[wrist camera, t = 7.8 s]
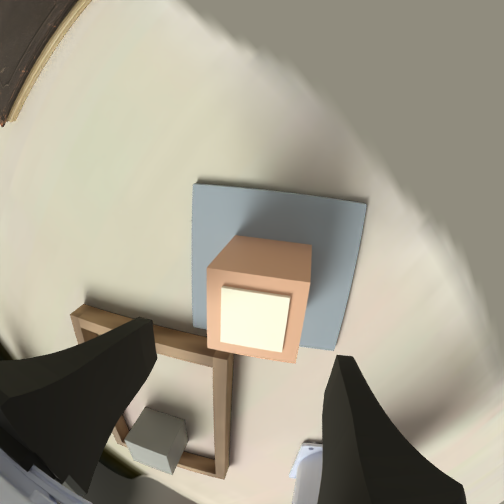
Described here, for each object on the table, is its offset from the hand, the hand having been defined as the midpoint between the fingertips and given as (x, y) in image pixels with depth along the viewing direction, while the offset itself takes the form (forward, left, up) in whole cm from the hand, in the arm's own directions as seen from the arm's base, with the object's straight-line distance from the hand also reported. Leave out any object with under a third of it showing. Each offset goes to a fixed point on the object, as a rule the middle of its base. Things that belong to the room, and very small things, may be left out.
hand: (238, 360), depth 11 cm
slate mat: (0, 0, -8) cm, 8 cm away
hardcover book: (+28, -24, -9) cm, 38 cm away
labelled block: (0, 0, -8) cm, 8 cm away
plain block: (+9, +20, -8) cm, 23 cm away
